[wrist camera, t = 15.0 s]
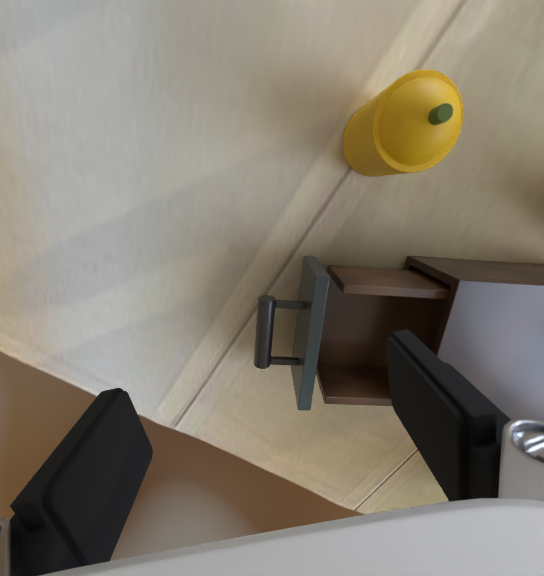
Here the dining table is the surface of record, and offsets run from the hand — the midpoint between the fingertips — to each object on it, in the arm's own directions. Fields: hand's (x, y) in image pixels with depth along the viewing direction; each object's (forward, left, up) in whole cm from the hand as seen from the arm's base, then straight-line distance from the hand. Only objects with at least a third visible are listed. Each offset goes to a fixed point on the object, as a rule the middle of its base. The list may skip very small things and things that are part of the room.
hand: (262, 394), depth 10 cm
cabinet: (+24, -6, -21) cm, 32 cm away
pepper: (+10, +12, -21) cm, 26 cm away
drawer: (+10, -6, -20) cm, 23 cm away
